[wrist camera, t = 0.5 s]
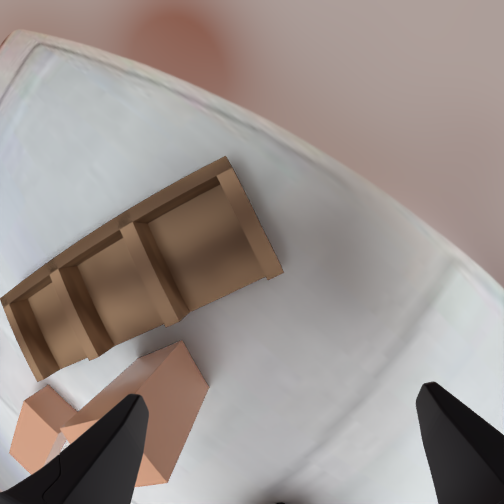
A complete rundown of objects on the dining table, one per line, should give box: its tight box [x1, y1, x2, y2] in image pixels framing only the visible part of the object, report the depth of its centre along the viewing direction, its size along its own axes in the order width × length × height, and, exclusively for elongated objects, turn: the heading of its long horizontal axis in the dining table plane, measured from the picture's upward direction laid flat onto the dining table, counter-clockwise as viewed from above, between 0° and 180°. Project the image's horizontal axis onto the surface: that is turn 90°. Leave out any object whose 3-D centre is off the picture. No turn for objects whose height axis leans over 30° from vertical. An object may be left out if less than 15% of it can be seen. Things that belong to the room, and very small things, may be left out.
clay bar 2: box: [60, 340, 209, 487], centre depth 20 cm, size 5×5×13 cm
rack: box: [0, 156, 284, 382], centre depth 24 cm, size 9×26×4 cm, turn 116°
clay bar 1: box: [9, 385, 77, 475], centre depth 26 cm, size 13×5×5 cm, turn 144°
